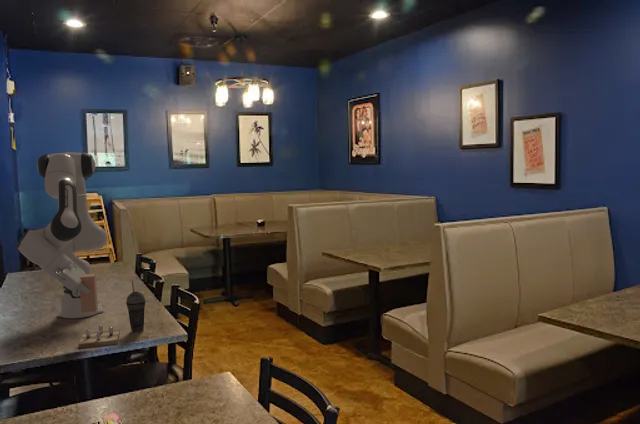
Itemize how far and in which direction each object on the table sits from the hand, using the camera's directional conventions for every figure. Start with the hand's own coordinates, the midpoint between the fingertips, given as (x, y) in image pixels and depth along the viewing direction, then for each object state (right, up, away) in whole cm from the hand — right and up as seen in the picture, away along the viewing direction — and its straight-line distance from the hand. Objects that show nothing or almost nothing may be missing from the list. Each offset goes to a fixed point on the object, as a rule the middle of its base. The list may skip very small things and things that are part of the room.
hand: (90, 290), depth 194 cm
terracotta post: (0, -7, 0) cm, 7 cm away
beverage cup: (+13, -18, +13) cm, 26 cm away
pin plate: (+3, -19, +2) cm, 19 cm away
